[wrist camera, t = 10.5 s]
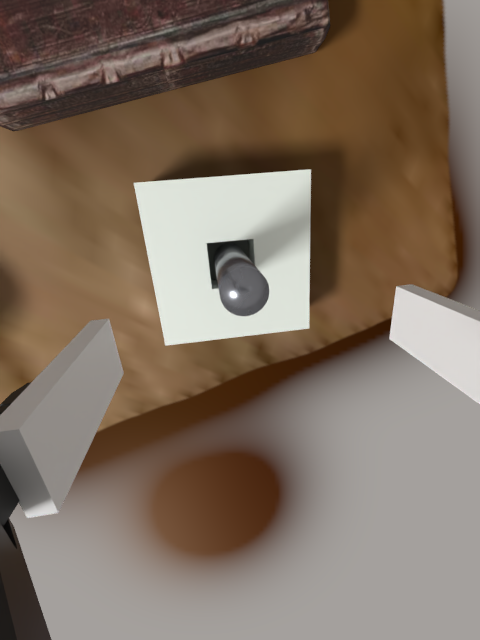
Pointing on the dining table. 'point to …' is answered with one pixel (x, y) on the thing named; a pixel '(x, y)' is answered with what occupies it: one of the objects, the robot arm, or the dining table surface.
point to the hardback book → (138, 49)
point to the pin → (239, 281)
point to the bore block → (217, 229)
